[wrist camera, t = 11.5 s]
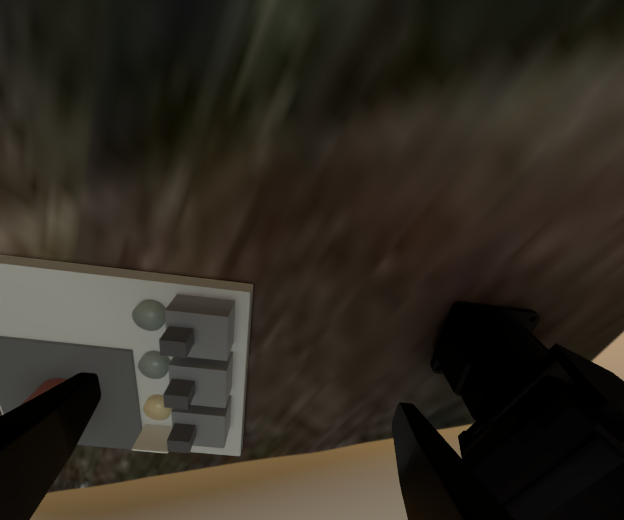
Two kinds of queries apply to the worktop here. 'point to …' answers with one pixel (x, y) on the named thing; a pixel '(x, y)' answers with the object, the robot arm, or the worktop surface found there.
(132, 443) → the breaker board
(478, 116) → the worktop surface
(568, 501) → the robot arm
